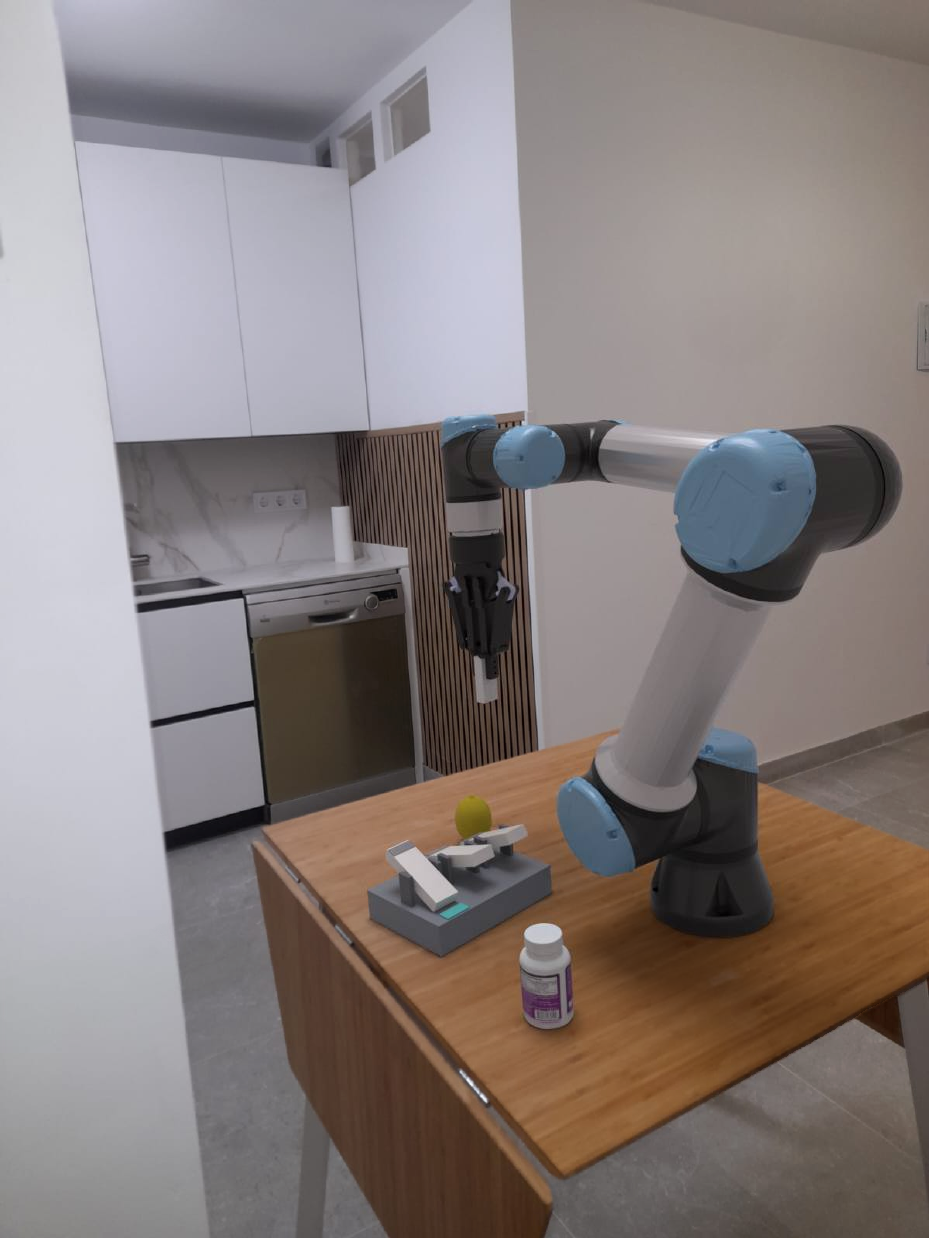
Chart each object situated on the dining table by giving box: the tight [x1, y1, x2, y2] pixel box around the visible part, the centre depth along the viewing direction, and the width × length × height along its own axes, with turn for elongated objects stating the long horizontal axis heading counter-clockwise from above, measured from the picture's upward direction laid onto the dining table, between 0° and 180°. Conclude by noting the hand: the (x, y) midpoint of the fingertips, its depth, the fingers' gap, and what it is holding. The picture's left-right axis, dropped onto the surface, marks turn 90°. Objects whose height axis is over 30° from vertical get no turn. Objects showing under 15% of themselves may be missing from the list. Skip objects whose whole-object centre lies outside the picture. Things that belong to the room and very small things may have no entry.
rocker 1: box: [384, 839, 458, 912], centre depth 114 cm, size 10×4×2 cm, turn 44°
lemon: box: [454, 793, 493, 840], centre depth 137 cm, size 6×6×8 cm
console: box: [366, 823, 553, 958], centre depth 119 cm, size 14×20×8 cm
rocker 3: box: [459, 823, 529, 848], centre depth 123 cm, size 10×4×2 cm, turn 43°
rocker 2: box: [423, 844, 495, 867], centre depth 119 cm, size 10×4×2 cm, turn 43°
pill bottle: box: [518, 922, 575, 1030], centre depth 95 cm, size 5×5×10 cm
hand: (487, 700), depth 127 cm, fingers closed
